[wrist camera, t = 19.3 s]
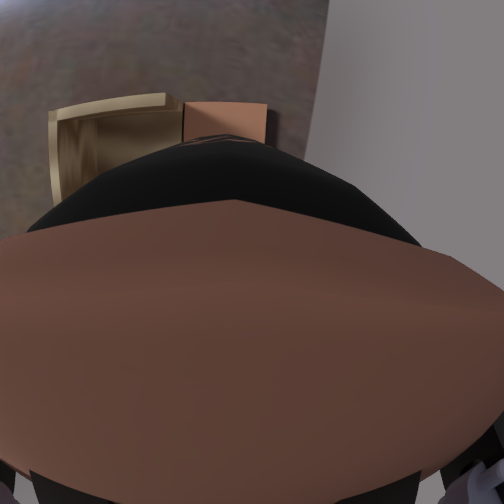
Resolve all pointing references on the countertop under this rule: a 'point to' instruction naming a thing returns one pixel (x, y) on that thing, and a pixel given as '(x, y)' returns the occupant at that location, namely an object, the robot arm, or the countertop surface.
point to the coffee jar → (238, 336)
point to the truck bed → (108, 137)
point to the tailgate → (225, 120)
